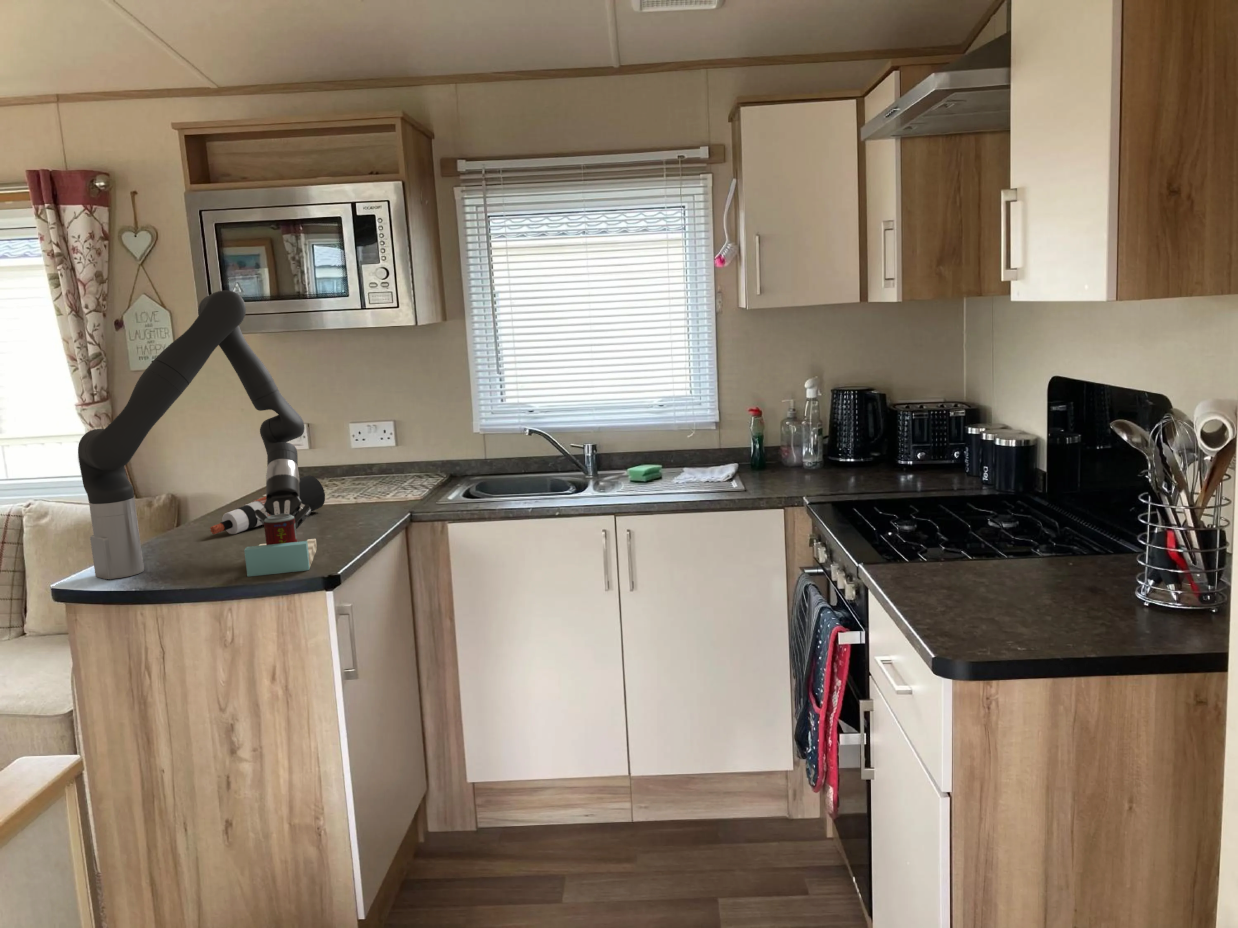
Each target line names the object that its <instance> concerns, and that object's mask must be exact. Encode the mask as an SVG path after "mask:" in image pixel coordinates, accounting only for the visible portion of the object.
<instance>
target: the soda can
mask: <svg viewBox="0 0 1238 928" xmlns="http://www.w3.org/2000/svg"><path fill="white" fill-rule="evenodd" d="M263 526H264V527H263V529H264V534H265V537H264V538H265V544H266V545H271V544H281V543H291V542H298V535H297V529H296V525H295V518H294V516H292V515H290V514H276V515H272V516H269V517H267V518H266V519H265V520H264V525H263Z"/></svg>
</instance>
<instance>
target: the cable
mask: <svg viewBox="0 0 1238 928" xmlns="http://www.w3.org/2000/svg"><path fill="white" fill-rule="evenodd" d="M299 479H300V482H299V494H300V500H301V503H302V504H304V505H309V506H310V510H311V512H314V511H316V510H318V509H321V508H322V507H323V505H325V502H326V494H325V493H326V492H325V490H324V487H323V485H322V482H320V481H319V479H318V478H317V477H315V476H313V475H310V474H309V475H304V476H301V477H299ZM265 502H266V495H265V496H263V497H260V498H258V499H255V500H252V501H251V502H250V503H247V504H244V505H242V506H241V507H240V506H239V507H237V508H235V509H233V510H231V511H228V512H225V513H224V514H223V515H222V517H221V518H222V519H221V520H222V521H221V522H220V523H218V524H217V523H216V524H214V525H212V526H210V527H209V529H210V533H212V534H213V535H215V534H218V533H221V532H225V531H226V532H227V533H228V534H229V535H236V534H238V533H242V532H244V531H249V530H250V529H254V528H257V527H259V526H261V525H262V526H264V525H263V524H262V523H261V522H260V521H259V520H258V519H257V517H256V514H255V510H257V509H258V510H261V509H262V508H263V507H264V503H265ZM299 512H300V511H298V512H297V513H296V514H295V515H294V517H295V516H296V515H297V514H298V513H299ZM266 514H267V517H269V516H271V515H270V514H269V513H268V512H266Z"/></svg>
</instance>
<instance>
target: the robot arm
mask: <svg viewBox="0 0 1238 928" xmlns="http://www.w3.org/2000/svg"><path fill="white" fill-rule="evenodd" d="M246 308H247V307H246V302H245V300H244V298H243V297H242V296H241V295H240V294H238V293H237V292H235V291H233V290H218V291H215V292H213V293H211V294H209V295H207V296H205V297H204V298H203V299H202V300H201V301H200V302H199V305H198V309H197V314H198V316H197V318H196V319H194V322H193V323H192V324H191V325H190V327H188V329H186V331H184V333H182V334H181V335H180V336H178V337H177V338H176V339H175V340H173V341H172V342H171V343H170V344H169V345H168V346H167V347H165V348H164V349H163V351H161V352H160V353H159V354H158V355H157V356H156V357H155V358H154V359H153V360H152V361H151V363H150V364H149V365H148V366H147V368H146V369H145V370H144V371H143V372H142V374H141V375H140V376H139V378H138V380H137V381H136V383H135V385H134V388H133V390H132V392H131V395H130V397H129V399H128V401H127V403H126V405H125V406H124V408H123V409H122V410H121V411H120V413H119V414H118V415H117V416H116V417H115V418H114V419H113V420H112V421H111V422H110V423H109V424H108V425H107V426H105V428H96V429H95V428H94V429H92V430H89V431H87V432H86V433H84V434H83V435H82V437H81V438H80V440H79V442H78V446H77V456H78V463H79V469H80V470H79V471H80V475H81V480H82V484H83V488H84V490H85V493H86V495H87V499H88V504H89V512H90V519H91V527H92V535H90V536H89V540H90V541H89V542H90V546H91V555H92V560H93V568H94V574H95V577H97V578H100V579H104V580H107V579H110V580H113V579H120V578H128V577H131V576H136V575H138V574H141V573H143V572H145V564H144V558H143V552H142V543H141V536H140V530H139V522H138V515H137V514H138V513H137V506H136V499H135V493H134V487H133V485H132V483H131V482H130V480H129V479H128V475H127V473H126V467H125V466H126V465H127V464H128V463H129V462H130V461H131V459H132V458H133V456H135V454H136V453H137V451H138V449H139V447H140V446H141V444H143V441H144V439H145V438H146V436H147V435H148V434H149V433H150V432H151V429H152V428H153V427H154V426H155V425H156V424H157V423H158V422H159V420H160V419H161V418H162V417H163V416H164V415H165V413H166V412H168V410H169V409H170V408H171V406H172V405H173V404H174V403H175V402H176V401H177V400H178V399H179V398H180V397H181V395H182V394H183V393H184V391H185V390H186V389H187V388H188V387H189V385H191V383H192V382H193V380H194V379H195V378H196V376H197V375H198V373H200V371H201V370H202V368H203V367H204V365H205V364H206V362H207V361H208V360H209V359H210V356H211V355H212V354H213V352H214V351H215V350H216V348H217V347H219V348H220V350H221V351H222V352H223V354H224V355H225V357H226V358H227V360H228V361H229V363H230V365H231V366H232V368H233V370H234V372H235V373H236V375H237V376H238V379H239V381H240V382H241V384H242V387H243V388H244V390H245V393H246V394H247V396H248V398H249V400H250V401H251V403H252V405H253V407H254V409H255V410H257V411H259V412H260V411H268V410H269V411H273V412H274V413H276V414H277V415H275V416H273V417H270V418H268V419H265V420H264V421H263V422H262V423H261V425H260V427H259V434H260V437H261V439H262V442H263V445H264V449H265V451H266V455H267V456H266V457H267V458H266V459H267V461H266V463H267V464H266V465H267V467H266V473H265V474H266V475H265V476H266V477H265V479H266V480H265V483H266V484H265V489H266V491H265V496H266V502H265V503H264V507H263V508H262V509H261V510H258V509H257V510H255V514H256V517H257V519H258V520H259V521H260V522H261V523H262V524H263V525H262V526H264V520H265V519H266V518H267V514H266V512H268V513H269V514H270V515H271V516H272V515H276V514H290V515H292V516H294V515H295V514H296V513H297V512H298V511H300V512H299V513H298V514H297V515H296V516H295V517H294V518H295V525H296V530H297V529H298V528H299V527H300V526H301V525H302V524H303V523H304V522H305V520H306V519H307V518H308V517H309V515H311V513H312V511H311V510H310V506H309V505H304V504H302V503H301V500H300V494H299V482H300V479H299V478H300V472H299V467H298V466H299V465H298V463H299V462H298V461H299V460H298V450H297V448H296V446H295V445H294V444H292V443H291V441H293V440H296V439H299V438H300V437H302V436H303V435H304V434H305V433H304V432H305V423H304V420H303V418H302V417H301V415H300V414H299V413H298V411H296V409H295V408H293V406H291V404H290V403H289V402H288V401H287V399H286V398H285V397H284V396H283V394H282V393H281V392H280V390H279V387H278V386H277V384H276V382H275V380H274V378H273V376H272V374H271V373H270V371H269V370H268V368H267V367H266V366H265V364H264V363H263V361H262V360H261V359H260V358H259V356H257V354H256V353H255V352H254V351H253V349H252V348H251V347H250V345H249V343H248V342H247V340H246V338H245V336H244V335H243V332H242V330H241V327H240V325H241V324H242V323H243V321H244V319H245V317H246V313H247V309H246Z"/></svg>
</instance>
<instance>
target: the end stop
mask: <svg viewBox="0 0 1238 928" xmlns="http://www.w3.org/2000/svg"><path fill="white" fill-rule="evenodd" d="M244 559H245V560H244V561H245V568H246V575H247V577H257V576H267V575H276V574H285V573H295V572H303V571H304V572H305V571H310V568H311V566H309V552H308V542H307V540H303V541H297V542H291V543H281V544H271V545H261V546H259V545H253V546H246V547H245V548H244Z"/></svg>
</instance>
